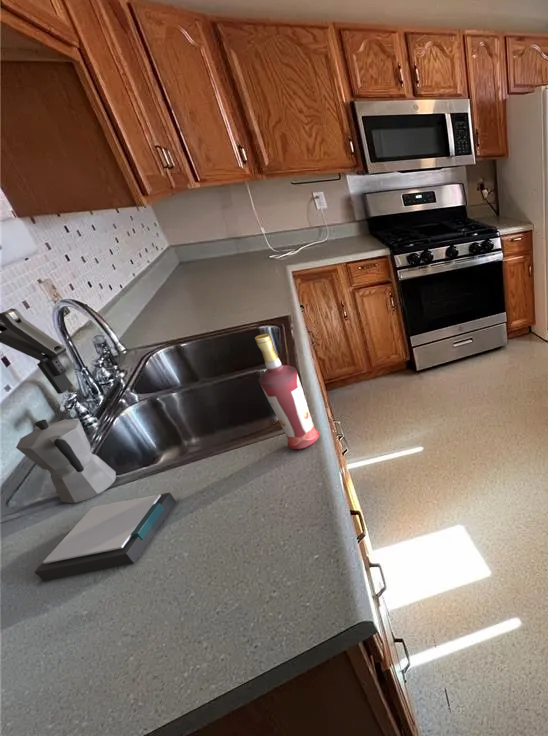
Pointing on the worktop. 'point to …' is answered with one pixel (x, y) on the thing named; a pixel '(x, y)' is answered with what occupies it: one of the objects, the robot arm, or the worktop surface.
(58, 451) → the coffeepot
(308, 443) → the liquor
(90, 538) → the scale
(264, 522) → the worktop surface
